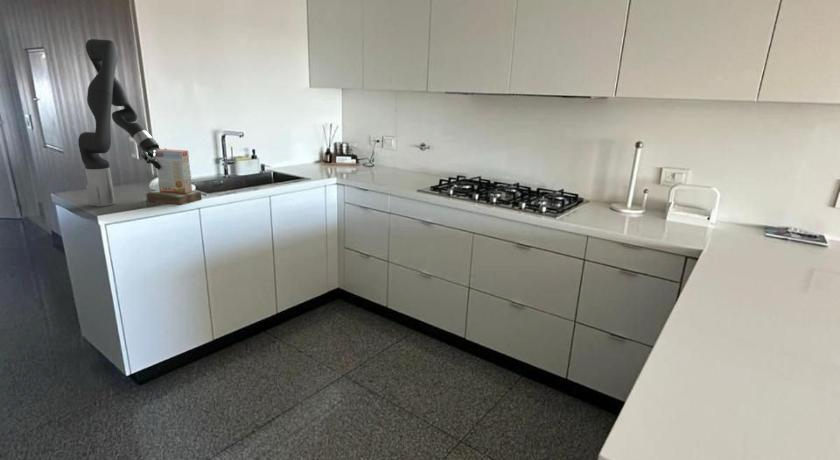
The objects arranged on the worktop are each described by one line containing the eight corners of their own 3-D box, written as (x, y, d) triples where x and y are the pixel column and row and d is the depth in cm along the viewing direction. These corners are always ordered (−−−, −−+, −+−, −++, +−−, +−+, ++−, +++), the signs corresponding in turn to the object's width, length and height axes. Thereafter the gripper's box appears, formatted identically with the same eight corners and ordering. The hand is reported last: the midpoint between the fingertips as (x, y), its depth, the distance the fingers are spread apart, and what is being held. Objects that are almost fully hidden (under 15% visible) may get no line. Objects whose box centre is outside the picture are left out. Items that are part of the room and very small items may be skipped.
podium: (179, 205, 219) (178, 196, 218) (147, 200, 224) (146, 192, 223) (201, 199, 232) (200, 191, 230) (170, 195, 237) (169, 187, 236)
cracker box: (192, 191, 229) (188, 150, 223) (185, 194, 223) (180, 151, 217) (167, 189, 231) (162, 148, 225) (159, 192, 225) (154, 149, 219)
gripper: (136, 138, 216) (158, 164, 216) (161, 136, 229) (182, 160, 229) (129, 148, 219) (151, 174, 219) (154, 145, 232) (174, 170, 232)
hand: (167, 167), depth 224 cm, fingers open, 8 cm apart
